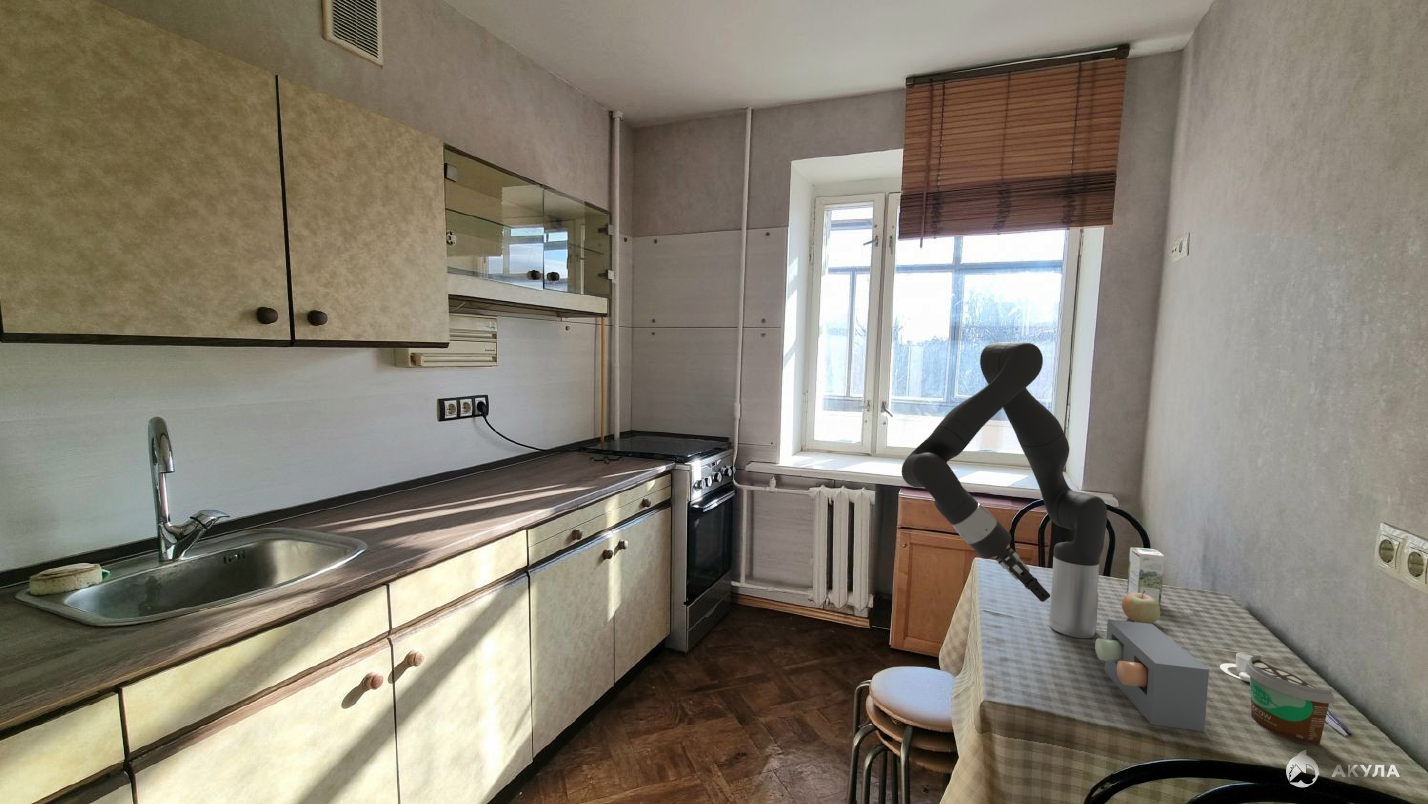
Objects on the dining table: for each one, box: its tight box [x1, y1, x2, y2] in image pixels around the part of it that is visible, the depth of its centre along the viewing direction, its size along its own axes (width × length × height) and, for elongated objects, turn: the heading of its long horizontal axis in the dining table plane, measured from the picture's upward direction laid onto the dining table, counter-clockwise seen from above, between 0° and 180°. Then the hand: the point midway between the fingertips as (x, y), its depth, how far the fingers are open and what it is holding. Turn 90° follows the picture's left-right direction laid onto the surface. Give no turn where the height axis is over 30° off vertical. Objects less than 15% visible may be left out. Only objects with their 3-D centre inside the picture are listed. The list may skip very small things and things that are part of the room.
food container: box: [1245, 654, 1335, 745], centre depth 99 cm, size 12×6×10 cm, turn 5°
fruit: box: [1121, 591, 1161, 624], centre depth 141 cm, size 8×7×8 cm
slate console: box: [1103, 618, 1210, 732], centre depth 106 cm, size 8×18×11 cm, turn 167°
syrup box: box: [1126, 546, 1166, 608], centre depth 152 cm, size 6×6×14 cm
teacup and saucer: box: [1219, 652, 1254, 683], centre depth 116 cm, size 9×8×4 cm
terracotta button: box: [1117, 661, 1149, 687], centre depth 103 cm, size 4×4×4 cm
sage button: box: [1094, 637, 1124, 662], centre depth 112 cm, size 4×4×4 cm
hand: (1041, 593), depth 114 cm, fingers open, 4 cm apart
